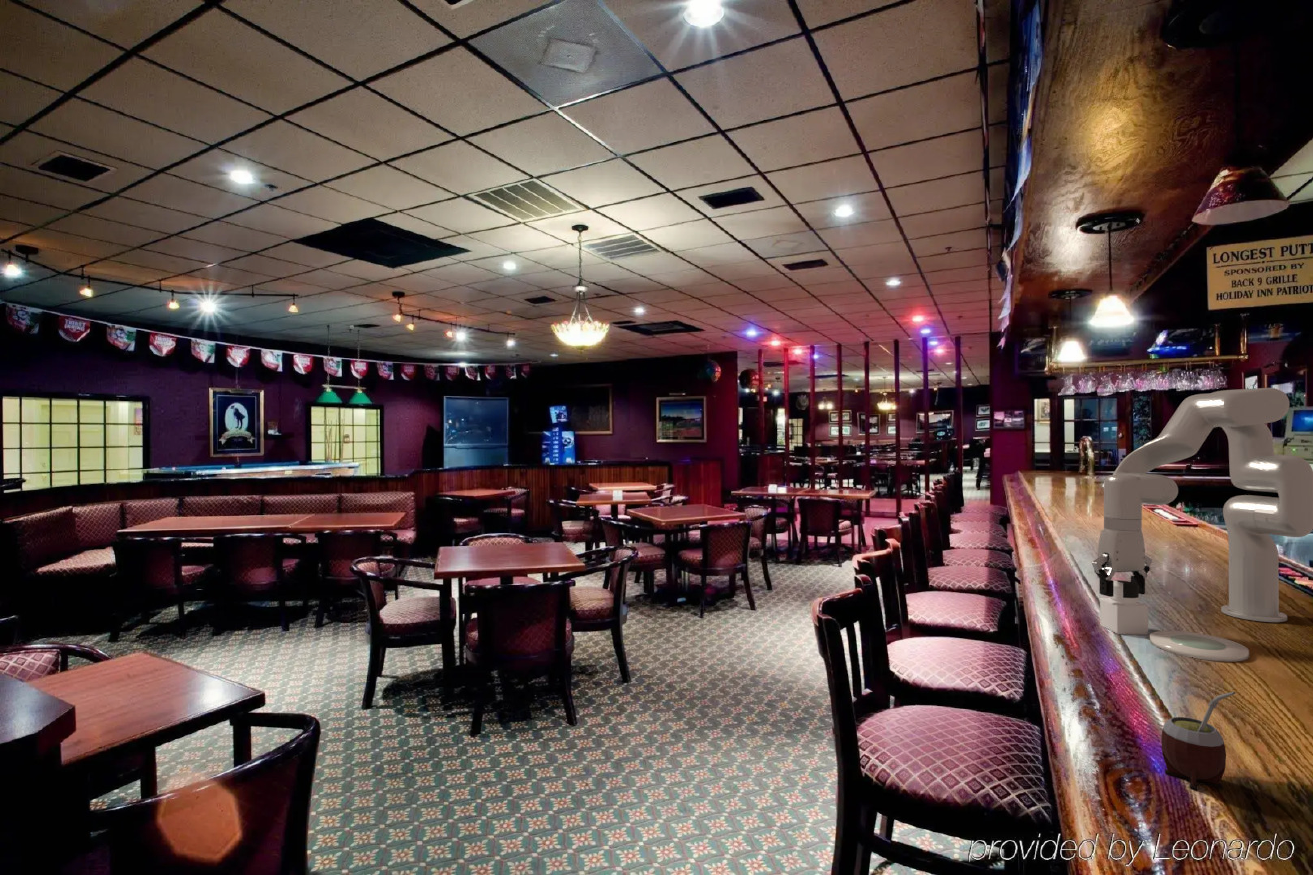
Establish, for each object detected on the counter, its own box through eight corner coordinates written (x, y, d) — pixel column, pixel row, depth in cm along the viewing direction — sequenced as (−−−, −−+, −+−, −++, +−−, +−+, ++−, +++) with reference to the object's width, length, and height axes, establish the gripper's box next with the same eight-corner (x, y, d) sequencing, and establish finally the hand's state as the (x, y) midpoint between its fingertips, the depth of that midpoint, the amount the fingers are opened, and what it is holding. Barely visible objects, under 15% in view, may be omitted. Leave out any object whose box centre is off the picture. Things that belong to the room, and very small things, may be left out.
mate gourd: (1161, 762, 95) (1161, 663, 95) (1232, 779, 90) (1231, 675, 90) (1161, 784, 89) (1160, 678, 89) (1236, 804, 84) (1235, 692, 84)
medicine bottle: (1129, 626, 159) (1129, 578, 159) (1148, 635, 152) (1148, 585, 152) (1099, 625, 160) (1099, 578, 159) (1117, 634, 152) (1116, 585, 152)
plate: (1153, 631, 155) (1153, 625, 155) (1248, 646, 143) (1248, 640, 143) (1146, 649, 142) (1146, 643, 142) (1249, 667, 131) (1249, 661, 131)
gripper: (1135, 521, 161) (1135, 588, 161) (1080, 524, 157) (1080, 592, 157) (1165, 526, 154) (1165, 595, 154) (1108, 528, 150) (1108, 600, 150)
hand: (1122, 594), depth 156 cm, fingers open, 9 cm apart
